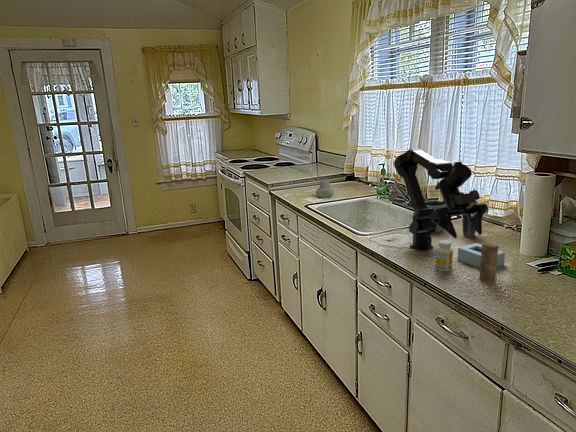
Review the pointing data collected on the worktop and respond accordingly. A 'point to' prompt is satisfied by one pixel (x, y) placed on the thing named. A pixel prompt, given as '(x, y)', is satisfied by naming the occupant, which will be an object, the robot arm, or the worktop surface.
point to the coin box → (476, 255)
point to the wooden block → (488, 262)
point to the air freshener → (324, 189)
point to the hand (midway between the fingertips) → (468, 236)
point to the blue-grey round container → (435, 205)
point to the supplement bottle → (444, 256)
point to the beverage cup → (468, 224)
